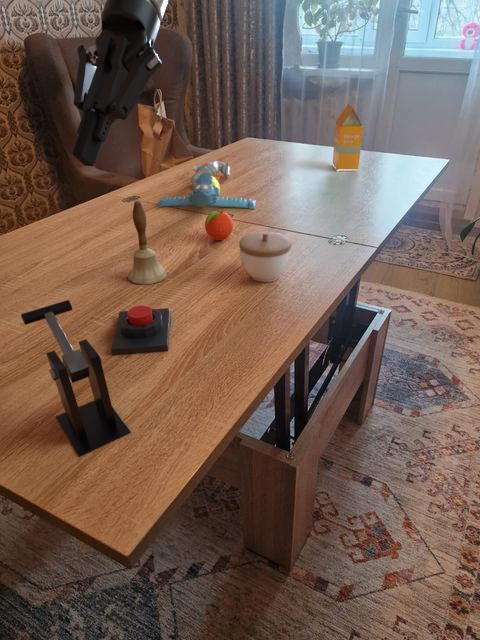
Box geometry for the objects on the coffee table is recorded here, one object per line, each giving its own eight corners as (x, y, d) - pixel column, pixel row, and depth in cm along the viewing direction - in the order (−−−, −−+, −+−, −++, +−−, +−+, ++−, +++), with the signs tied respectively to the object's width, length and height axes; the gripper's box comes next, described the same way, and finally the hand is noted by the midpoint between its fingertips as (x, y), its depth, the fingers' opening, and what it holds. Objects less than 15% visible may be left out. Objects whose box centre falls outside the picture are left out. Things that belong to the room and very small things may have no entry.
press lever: (22, 320, 62) (19, 309, 60) (68, 306, 65) (67, 295, 63) (56, 389, 58) (55, 379, 56) (104, 370, 61) (104, 360, 59)
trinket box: (275, 291, 97) (276, 248, 92) (230, 280, 101) (228, 237, 96) (298, 271, 105) (300, 229, 99) (255, 260, 109) (255, 220, 103)
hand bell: (141, 265, 107) (129, 193, 98) (174, 270, 105) (165, 197, 96) (120, 281, 101) (105, 206, 92) (155, 287, 99) (143, 211, 89)
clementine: (218, 248, 115) (216, 219, 111) (197, 241, 118) (194, 213, 114) (239, 237, 120) (238, 209, 116) (218, 231, 123) (217, 204, 119)
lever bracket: (57, 422, 67) (31, 347, 59) (106, 402, 70) (87, 328, 63) (81, 462, 61) (55, 384, 53) (132, 438, 64) (115, 361, 57)
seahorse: (220, 187, 150) (236, 161, 164) (185, 173, 149) (204, 148, 163) (216, 201, 153) (232, 175, 168) (182, 187, 153) (201, 162, 167)
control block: (113, 360, 78) (108, 340, 76) (121, 321, 88) (117, 302, 86) (169, 356, 79) (166, 336, 77) (171, 318, 89) (168, 299, 87)
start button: (127, 327, 80) (125, 318, 79) (130, 314, 83) (128, 306, 82) (152, 325, 80) (150, 316, 79) (153, 313, 83) (152, 304, 82)
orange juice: (353, 164, 175) (359, 103, 164) (358, 171, 168) (365, 108, 156) (331, 165, 175) (336, 104, 163) (336, 172, 168) (341, 108, 156)
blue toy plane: (256, 168, 140) (252, 184, 128) (257, 197, 145) (252, 216, 133) (162, 166, 141) (148, 182, 129) (165, 195, 147) (153, 214, 135)
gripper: (186, 31, 70) (137, 180, 67) (112, 30, 74) (63, 170, 71) (161, -16, 63) (105, 148, 60) (81, -14, 67) (25, 139, 64)
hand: (82, 160), depth 65 cm, fingers closed
